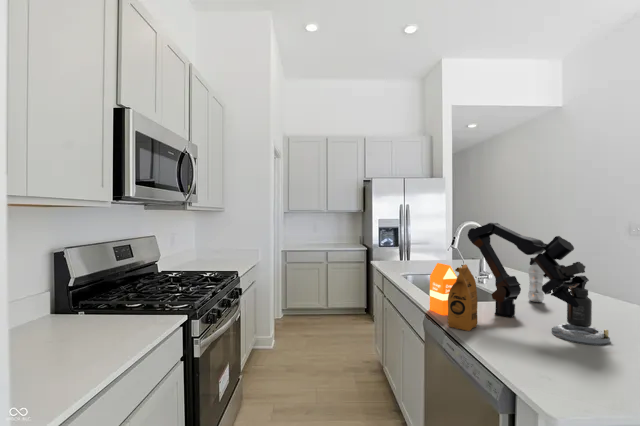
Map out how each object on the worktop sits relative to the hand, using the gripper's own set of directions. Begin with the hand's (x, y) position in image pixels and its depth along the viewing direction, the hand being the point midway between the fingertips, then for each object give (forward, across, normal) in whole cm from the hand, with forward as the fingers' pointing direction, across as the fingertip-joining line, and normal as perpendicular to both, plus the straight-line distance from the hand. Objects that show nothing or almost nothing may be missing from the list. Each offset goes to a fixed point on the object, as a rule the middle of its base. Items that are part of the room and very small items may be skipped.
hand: (583, 305), depth 120 cm
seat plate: (+7, 0, +8) cm, 11 cm away
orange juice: (-22, -19, +39) cm, 49 cm away
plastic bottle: (-18, +32, +34) cm, 50 cm away
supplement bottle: (+4, 0, +6) cm, 7 cm away
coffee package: (-11, -27, +27) cm, 39 cm away
